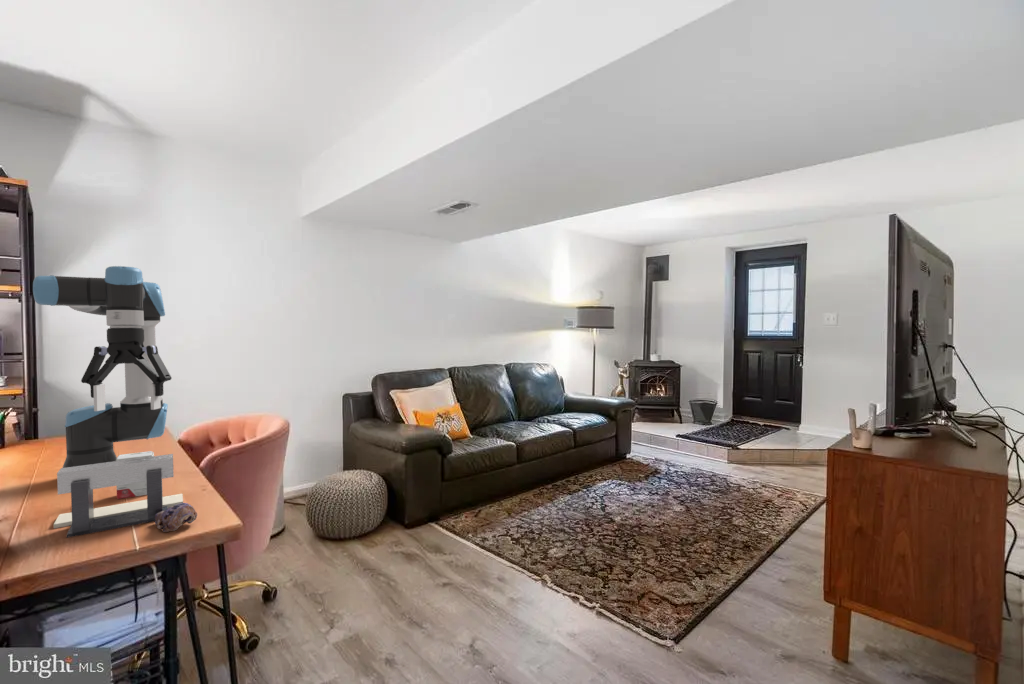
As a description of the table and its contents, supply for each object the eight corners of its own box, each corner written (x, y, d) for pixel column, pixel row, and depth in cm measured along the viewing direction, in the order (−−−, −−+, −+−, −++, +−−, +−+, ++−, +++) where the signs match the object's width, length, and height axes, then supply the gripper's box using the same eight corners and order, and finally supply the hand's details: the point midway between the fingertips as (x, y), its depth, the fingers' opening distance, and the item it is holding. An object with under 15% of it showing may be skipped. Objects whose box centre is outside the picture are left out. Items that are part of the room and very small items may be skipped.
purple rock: (146, 526, 118) (145, 501, 118) (181, 516, 124) (180, 492, 124) (167, 538, 111) (166, 511, 111) (203, 526, 118) (202, 501, 118)
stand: (72, 526, 118) (70, 475, 118) (167, 508, 129) (166, 462, 129) (66, 537, 111) (64, 484, 111) (167, 518, 122) (166, 469, 122)
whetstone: (61, 488, 116) (61, 468, 116) (173, 472, 128) (172, 453, 128) (57, 494, 112) (57, 473, 111) (173, 477, 124) (173, 457, 124)
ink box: (116, 499, 137) (115, 458, 136) (118, 494, 141) (117, 454, 140) (153, 493, 141) (152, 454, 141) (154, 489, 145) (153, 450, 145)
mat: (59, 518, 123) (59, 514, 123) (182, 496, 138) (182, 493, 138) (53, 528, 117) (53, 524, 117) (183, 505, 132) (183, 501, 132)
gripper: (61, 327, 119) (63, 413, 119) (167, 326, 121) (169, 410, 121) (85, 328, 126) (87, 408, 127) (185, 326, 128) (187, 406, 129)
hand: (127, 409), depth 124 cm, fingers open, 13 cm apart
